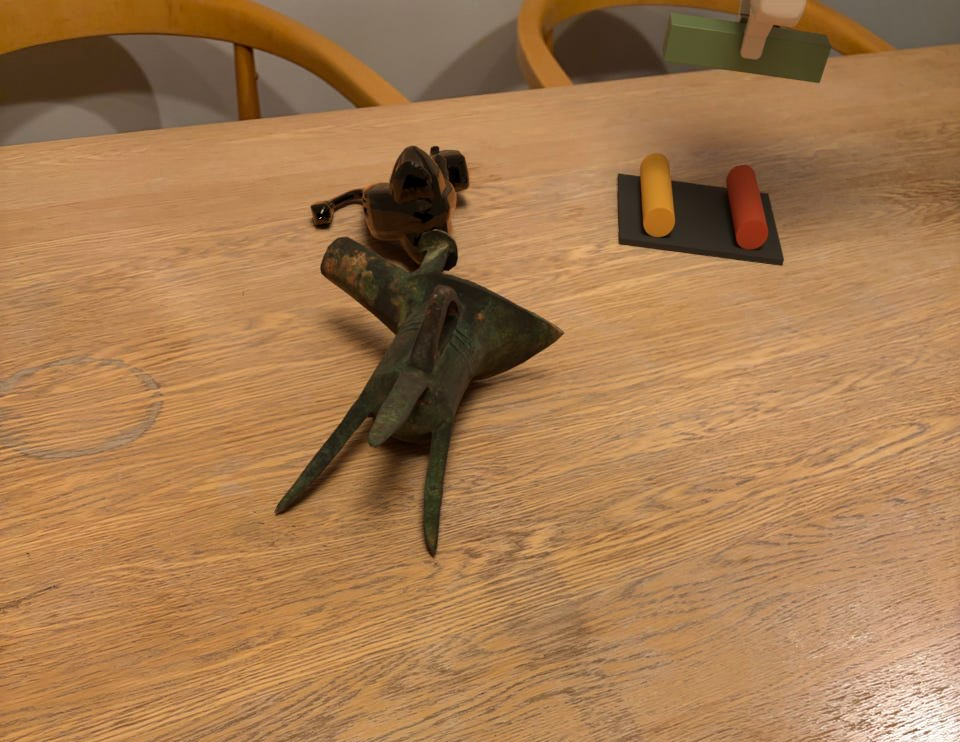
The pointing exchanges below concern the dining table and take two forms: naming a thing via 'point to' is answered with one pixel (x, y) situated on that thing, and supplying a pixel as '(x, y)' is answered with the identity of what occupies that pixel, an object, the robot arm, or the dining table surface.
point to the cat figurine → (408, 197)
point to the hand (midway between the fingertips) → (746, 46)
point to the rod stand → (697, 214)
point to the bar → (721, 48)
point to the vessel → (424, 353)
